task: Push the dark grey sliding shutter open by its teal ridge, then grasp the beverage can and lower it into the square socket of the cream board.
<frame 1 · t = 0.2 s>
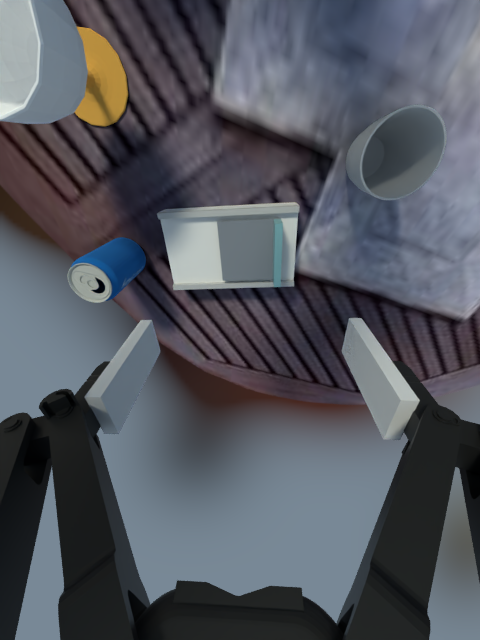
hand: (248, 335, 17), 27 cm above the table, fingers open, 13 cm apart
shutter: (249, 254, 36), point 5 cm above the table, slide at 0.0 cm
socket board: (231, 245, 41), on the table
cup: (364, 158, 34), on the table
cup 2: (92, 81, 31), on the table
beverage can: (129, 255, 43), on the table
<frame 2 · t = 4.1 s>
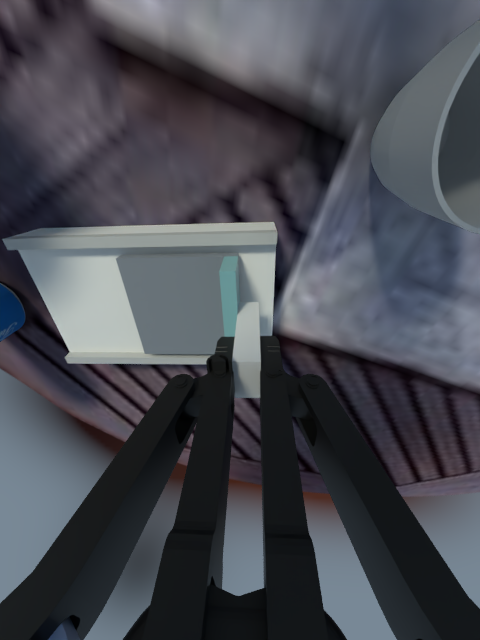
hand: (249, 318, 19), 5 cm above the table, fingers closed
shutter: (182, 318, 19), point 5 cm above the table, slide at 0.2 cm, touching gripper
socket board: (167, 290, 24), on the table
cup: (406, 141, 17), on the table
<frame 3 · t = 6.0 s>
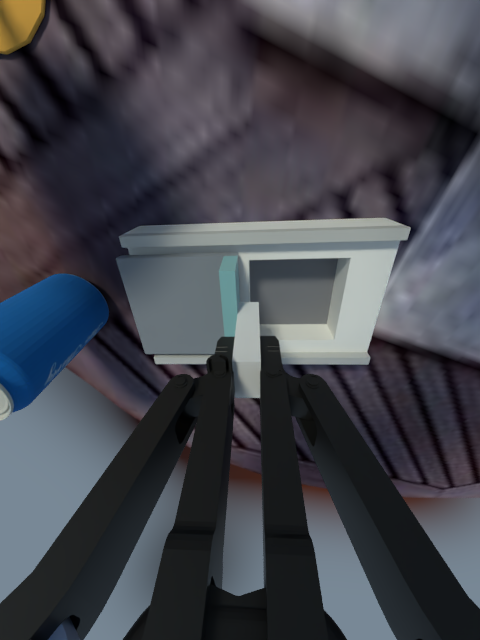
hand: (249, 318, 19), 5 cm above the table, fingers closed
shutter: (182, 318, 19), point 5 cm above the table, slide at 9.1 cm, touching gripper
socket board: (258, 289, 23), on the table
beverage can: (81, 299, 25), on the table
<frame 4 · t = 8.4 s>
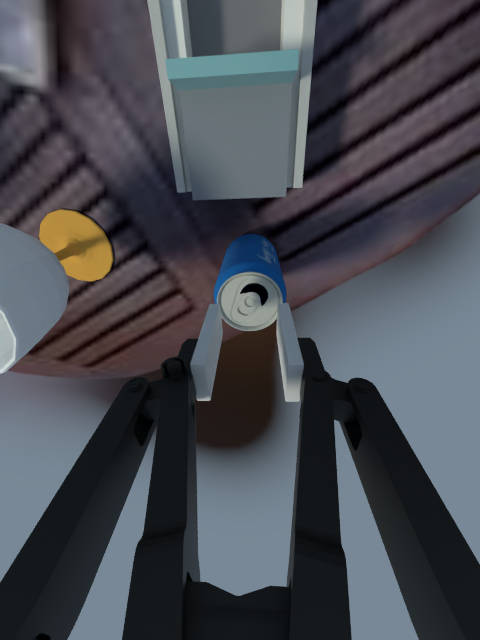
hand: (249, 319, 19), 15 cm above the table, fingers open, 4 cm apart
shutter: (235, 139, 20), point 5 cm above the table, slide at 9.2 cm
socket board: (236, 58, 22), on the table
cup 2: (78, 247, 32), on the table
beverage can: (250, 258, 31), on the table
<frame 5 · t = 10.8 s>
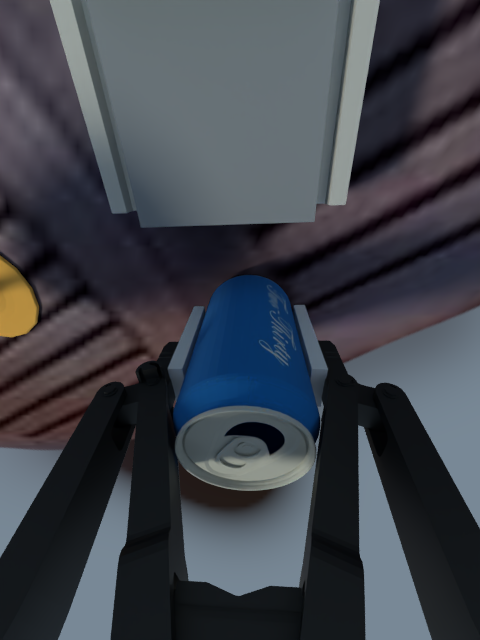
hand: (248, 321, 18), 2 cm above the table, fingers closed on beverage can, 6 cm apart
shutter: (214, 106, 9), point 5 cm above the table, slide at 9.2 cm
beverage can: (249, 307, 20), on the table, touching gripper
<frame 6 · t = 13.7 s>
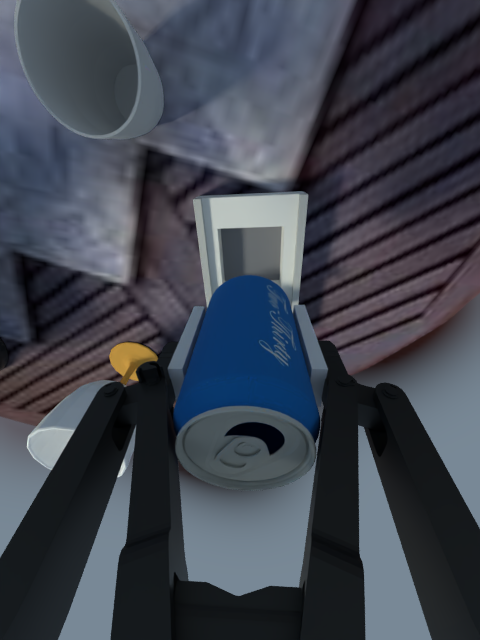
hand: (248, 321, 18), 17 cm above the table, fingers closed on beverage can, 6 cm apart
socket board: (251, 274, 34), on the table
cup: (140, 99, 25), on the table
cup 2: (136, 361, 44), on the table
beverage can: (249, 307, 20), point 15 cm above the table, touching gripper
when the fingers open (4 cm above the table, at t = 16.9 s): beverage can drops 2 cm, resting on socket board.
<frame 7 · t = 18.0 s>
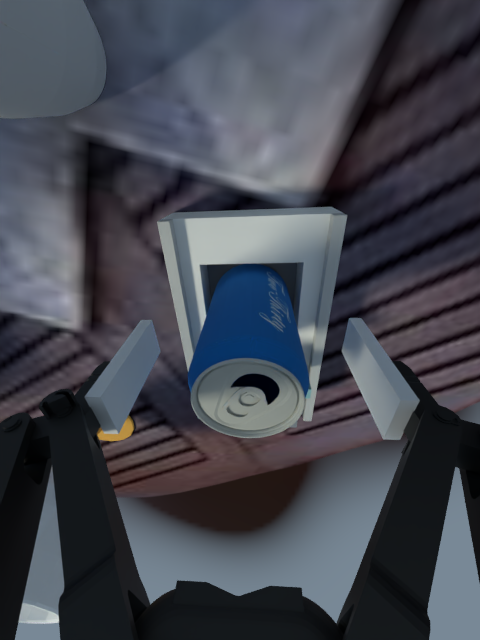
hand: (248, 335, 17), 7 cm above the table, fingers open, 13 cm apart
shutter: (252, 407, 23), point 5 cm above the table, slide at 9.2 cm
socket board: (252, 320, 24), on the table
cup: (66, 55, 15), on the table
cup 2: (102, 418, 34), on the table
beverage can: (251, 294, 22), resting on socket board
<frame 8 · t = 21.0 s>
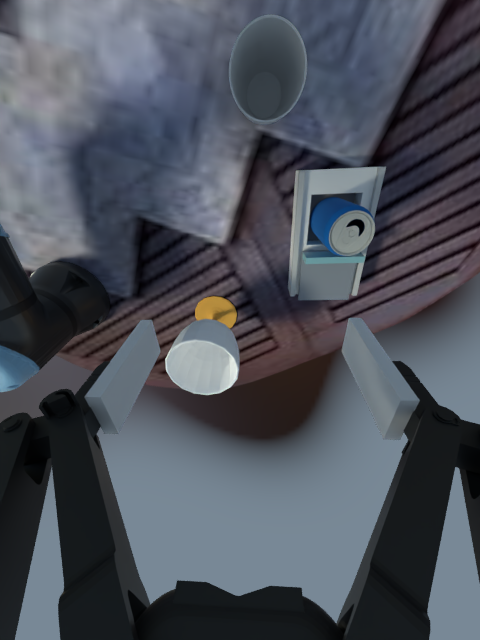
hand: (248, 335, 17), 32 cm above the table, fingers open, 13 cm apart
shutter: (328, 279, 42), point 5 cm above the table, slide at 9.2 cm
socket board: (325, 235, 43), on the table
cup: (264, 96, 34), on the table
cup 2: (216, 314, 53), on the table
beverage can: (327, 217, 42), resting on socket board
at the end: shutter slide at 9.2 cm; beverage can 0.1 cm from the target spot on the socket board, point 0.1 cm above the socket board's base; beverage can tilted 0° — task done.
